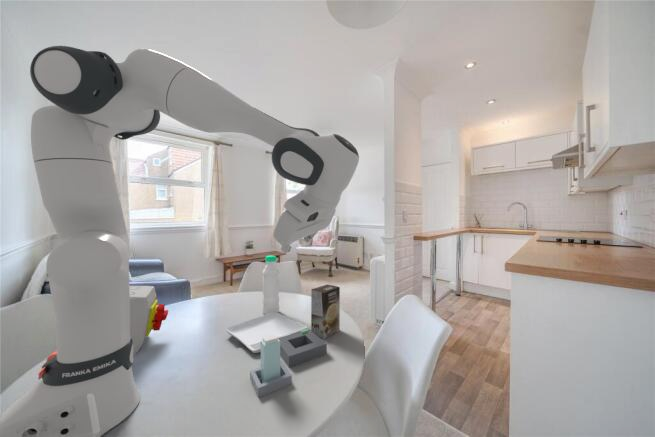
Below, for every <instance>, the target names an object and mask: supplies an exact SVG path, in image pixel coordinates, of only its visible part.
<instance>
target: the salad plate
mask: <svg viewBox="0 0 655 437" xmlns="http://www.w3.org/2000/svg"><path fill="white" fill-rule="evenodd" d="M308 328H309V327H308V326H307V325H305V324H303V323H301V322H298V321H296V320H294V319H293V318H291V317H289V316H285V315H283V314H282V313H281V312H278V313H277V312H273V313H270V314H267V315H265V314H263V315H261V316H258V317H254V318H252V319H248V320H246V321H243V322H240V323H237V324H234V325H232V326H228V327H227V328H225V331H226V333H228V335H230V336H232V337H234V338H235V339H236V340H237V341H239V343H241V344H243V346H245V347H246V348H247V349H248V350H249V351H251V353H253V354H259V353H261V347H260V348H258V349H255V348H254V347H252V346H251V345H255V344H258V343H261V340H263V337H266V336H270V335H274V334H275V335H276V336H277V337H278V338H281V337H284V336H288V335H291V334H295V333H298V332H301V331H302V330H308Z"/></svg>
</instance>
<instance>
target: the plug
mask: <svg viewBox="0 0 655 437" xmlns="http://www.w3.org/2000/svg"><path fill="white" fill-rule="evenodd" d="M278 338H279V337H277V336H276V335H275V334H274V335H270V336H266V337H263V340H261V342H260V348H261V352H260V367H261V382H262V383H265V382H268V381H270V380H273V379H276V378H278V377H280V361H281V356H280V340H279V339H278Z"/></svg>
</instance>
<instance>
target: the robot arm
mask: <svg viewBox="0 0 655 437" xmlns="http://www.w3.org/2000/svg"><path fill="white" fill-rule="evenodd" d="M29 68H30V69H29V73H30V75H29V76H30V78H31V82H32V84H33V86H34V87H35V88H36V90H37V91H38V92H39V93H40V94H41V95H42V96H43V97H44V98H45V99H46V100H48V101H50V102H51V103H52V104H53V105H47V106H43V107H39V108H38V109H37V110H35V111H34V112H33V114H32V116H31V122H30V123H31V124H30V143H31V144H30V145H31V152H32V153H31V154H32V158H33V164H34V169H35V173H36V177H37V181H38V186H39V191H40V194H41V199H42V200H41V201H42V203H43V204H42V205H43V207H44V209H45V210H46V212H47V213H48V216H49V218H50V220H51V222H52V225H53V227H54V229H55V233H56V235H57V239H58V243H57V244H55V246H54V247H53V248H52V249H51V251H50V252H49V254H48V256H47V259H46V265H45V266H46V267H45V268H46V273H47V276H48V283H49V290H50V295H51V300H52V306H53V309H54V314H55V324H56V325H55V326H56V331H55V332H56V337H55V338H56V350H55V351H53V352H52V353H51V354H50V355H49V356H48V357H47V358H46V361H45V362H44V363H43V364H42V366H41V370H39V371H38V373H37V375H38V377H37V379H38V380H40V381H39V382H37V383H36V384H34V385H33V386H32V387H31V388H29V389H28V390H27V391H26V392H24V393H23V394H22V395H21V396H19V397H18V398H17V399H16V400H14V401H13V402H12V403H11V404H10V405H9V406H8V407H7V408H6V409H4V411H3V413H2V414H1V415H0V437H102V436H103V435H104V434H105V433H107V432H108V431H110V430H111V429H113V428H114V427H116V426H117V425H119V424H120V423H122V421H124V420H125V419H126V418H128V417H129V416H130V415H131V414H132V413H133V412H134V410H135V409H136V408H137V407H138V404H139V403H140V399H141V396H140V393H139V391H138V389H137V387H136V382H135V379H134V373H133V367H132V365H133V362H134V355H133V353H134V350H133V340H132V338H131V337H130V294H129V286H130V257H131V245H130V240H129V236H128V235H129V234H128V231H127V226H126V222H125V217H124V214H123V213H124V212H123V208H122V204H121V200H120V195H119V189H118V185H117V179H116V173H115V170H114V169H115V168H114V165H113V164H114V163H113V159H112V154H111V150H110V142H111V140H112V138H115V139H119V140H128V139H130V138H132V137H135V136H136V137H137V136H142V135H146V134H149V133H151V132H152V131H154V130H155V129H156V128H157V127H158V126H159V124H160V120H161V113H162V114H164V115H166V116H168V117H170V118H172V119H174V120H176V121H177V122H179V123H181V124H182V125H185V126H187V127H188V128H191V129H194V130H197V131H200V132H203V133H210V134H212V133H213V134H214V133H216V134H217V133H218V134H219V133H221V134H222V133H235V134H237V133H238V134H244V135H248V136H251V137H254V138H256V139H258V140H259V141H262V142H263V143H265V144H268V145H270V146H272V147H273V148H272V152H271V163H272V166H273V168H274V170H275V171H276V172H277V174H278V175H279V176H280V177H282V178H284V179H286V180H287V181H290V182H295V183H297V184H301V185H305V186H304V188H303V189H302V190H301V191H299V192H298V193H296V194H295V195H294V196H292V197H290V198H288V199H286V201H285V203H284V205H283V207H284V209H285V210H284V211H283V212H282V213H281V215H280V216H279V217H278V220H277V223H276V225H275V227H274V230H273V233H272V234H273V238H274V240H275V241H276V242H277V243H278V244H280V245H281V247H280V250H281V252H283V253H284V254H287V253H289V252H290V251H291V249H292V246H291V245H292V243H295V242H297V241H299V240H301V239H302V240H303V241H304V242H305V243H307V244H308V243H310V242H312V240H313V238H314V237H315V236H316V235H317V234H318V233H319V231H322V230H325V229H327V228H328V227H329V225H330V224H331V222H332V221H333V218H334V216H335V214H336V208H337V207H338V205H339V203H340V200H341V197H342V193H343V192H344V191H345V190H346V189H347V188H348V186H349V184H350V183H351V181H352V179H353V177H354V174H355V172H356V169H357V167H358V164H359V161H360V156H359V152H358V149H357V148H356V147H355V146H354V145H353V144H352V143H351V141H349V140H347V139H346V138H345V137H343V136H341V135H339V134H337V133H333V134H331V135H319V134H318V133H317V131H314V130H313V129H309V128H303V127H302V128H301V127H294V126H291V125H289V124H286V123H284V122H282V121H280V120H278V119H276V118H274V117H273V116H270V115H269V114H267V113H265V112H263V111H261V110H259V109H258V108H255V107H254V106H252V105H250V104H248V103H247V102H246V101H244V99H241V98H240V97H238V96H236V95H235V94H233V93H232V92H231V91H229V90H227V89H226V88H225V87H223V86H222V85H221V84H219V83H217V82H216V81H214V80H213V79H211V77H210V78H209V76H207V75H205V74H203V73H202V72H200V71H198V70H197V69H195V68H193V67H192V66H189V65H188V64H186V63H184V62H182V61H180V60H178V59H175V58H173V57H171V56H170V55H169V56H168V55H167V54H164V53H162V52H158V51H156V50H153V49H149V48H138V49H135V50H133V51H132V52H131V53H129V54H128V55H127V57H126V58H125V60H124V61H123V62H115V59H113V58H112V57H111V56H110V55H108V54H107V53H106V52H104V51H98V50H97V51H96V50H95V51H94V50H92V51H90V50H84V49H81V48H77V47H72V46H66V45H52V46H48V47H45V48H44V49H41V50H39V51H38V52H37V53H36V54H35V55H34V57H33V59H32V60H31V63H30V66H29ZM160 112H161V113H160Z"/></svg>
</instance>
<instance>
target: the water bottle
mask: <svg viewBox="0 0 655 437" xmlns="http://www.w3.org/2000/svg"><path fill="white" fill-rule="evenodd" d="M264 260H265V261H264V262H265V266H264V268H263V270H262V313H263V315H267V314H270V313H273V312H277V313H280V296H279V295H280V279H279V278H280V276H279V275H280V272H279V271H280V270H279V269H278V268H279V267H278V266H277V264H276V262H277V256H276V255H271V254H270V255H266V256H265V258H264Z"/></svg>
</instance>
